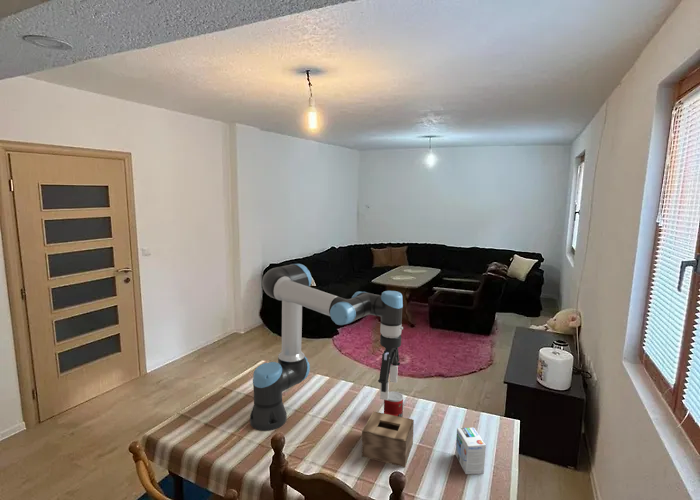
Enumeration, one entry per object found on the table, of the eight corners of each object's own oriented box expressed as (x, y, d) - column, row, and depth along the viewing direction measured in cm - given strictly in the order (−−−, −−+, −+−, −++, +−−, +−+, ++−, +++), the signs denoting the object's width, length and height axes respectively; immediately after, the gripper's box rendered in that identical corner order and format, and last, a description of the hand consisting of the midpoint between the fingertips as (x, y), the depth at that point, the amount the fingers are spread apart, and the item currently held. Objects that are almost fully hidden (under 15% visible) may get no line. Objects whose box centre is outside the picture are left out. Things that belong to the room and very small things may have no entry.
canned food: (401, 426, 161) (402, 401, 160) (382, 424, 163) (383, 399, 161) (403, 416, 169) (403, 392, 167) (384, 414, 170) (385, 390, 169)
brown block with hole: (361, 456, 142) (362, 431, 141) (372, 434, 155) (373, 411, 154) (405, 467, 137) (405, 441, 136) (412, 443, 150) (413, 419, 149)
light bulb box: (454, 454, 144) (456, 427, 143) (472, 453, 145) (474, 426, 143) (465, 475, 134) (467, 446, 132) (484, 474, 134) (486, 445, 133)
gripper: (392, 348, 127) (390, 409, 130) (408, 325, 150) (406, 377, 153) (370, 345, 130) (369, 405, 133) (389, 322, 153) (387, 373, 156)
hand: (389, 390), depth 143 cm, fingers open, 13 cm apart
